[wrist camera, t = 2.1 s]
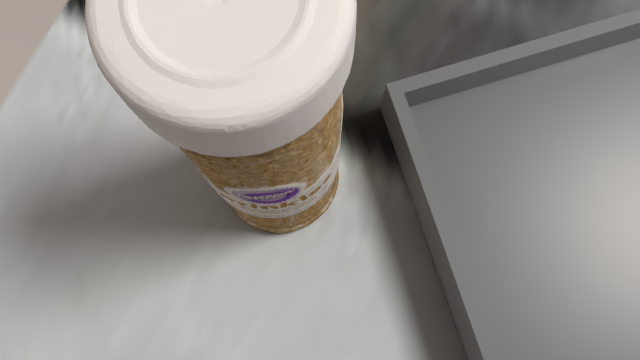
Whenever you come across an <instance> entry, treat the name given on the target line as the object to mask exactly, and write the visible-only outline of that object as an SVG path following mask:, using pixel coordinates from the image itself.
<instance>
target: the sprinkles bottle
mask: <svg viewBox="0 0 640 360" xmlns="http://www.w3.org/2000/svg"><path fill="white" fill-rule="evenodd" d="M356 7H357V5H356V0H86V3H85V22H86V29H87V35H88V39H89V44H90V47H91V50H92V52H93V55H94V57H95V60H96V62H97V64H98V67H99V68H100V70H101V72H102V73H103V75H104V77H105V78H106V80H107V81H108V82H109V83H110V85H111V86H112V87H113V88H114V90H115V91H116V92H117V93H118V95H119V96H120V97H121V98H122V99H123V101H124V102H125V103H126V104H127V106H128V107H129V108H130V109H131V110H132V111H133V112H134V113H135V114H136V115H137V116H138V117H139V118H140V119H141V120H142V121H143V122H144V123H145V124H146V125H147V126H148V127H149V128H150V129H152V130H153V131H154V132H155V133H157V134H158V135H160V136H161V137H163V138H164V139H166V140H167V141H169V142H171V143H173V144H175V145H177V146H179V147H180V149H181V150H182V151H183V152H184V153H185V154H186V155H187V156H188V157H189V159H190V160H191V161H192V162H193V163H194V165H195V166H196V168H197V170H198V171H199V172H200V173H201V175H202V176H203V177H204V178H205V179H206V180H207V182H208V183H209V184H210V185H211V186H212V187H213V188H214V189H215V190H216V192H217V193H218V194H219V195H220V196H221V197H222V198H223V199H224V200H225V201H227V202H228V204H229V205H230V206H231V207H232V208H233V210H234V212H235V213H236V214H237V215H238V217H239V218H241V219H242V220H243V221H244V222H246V223H247V224H249V225H252V226H254V227H256V228H257V229H261V230H265V231H270V232H275V233H284V232H293V231H296V230H298V229H301V228H303V227H305V226H308V225H310V224H311V223H313V222H314V221H315V220H316V219H318V218H319V217H320V216H321V215H322V214H323V213H324V212H325V211H326V210H327V209H328V207H329V206H330V204H331V202H332V200H333V198H334V196H335V194H336V190H337V186H338V179H339V175H338V163H339V153H340V141H341V130H342V118H343V96H342V89H343V87H344V85H345V82H346V80H347V78H348V75H349V73H350V69H351V65H352V60H353V54H354V44H355V32H356Z"/></svg>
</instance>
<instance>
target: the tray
mask: <svg viewBox="0 0 640 360" xmlns="http://www.w3.org/2000/svg"><path fill="white" fill-rule="evenodd" d="M380 109H381V112H382V115H383V118H384V120H385V123H386V126H387V129H388V132H389V135H390V138H391V141H392V143H393V146H394V149H395V152H396V155H397V158H398V161H399V163H400V166H401V169H402V172H403V175H404V178H405V181H406V184H407V186H408V189H409V192H410V195H411V198H412V201H413V204H414V207H415V209H416V212H417V215H418V218H419V221H420V224H421V227H422V230H423V232H424V235H425V238H426V241H427V244H428V247H429V250H430V253H431V255H432V258H433V261H434V264H435V267H436V270H437V273H438V275H439V278H440V281H441V284H442V287H443V290H444V293H445V296H446V298H447V301H448V304H449V307H450V310H451V313H452V316H453V319H454V321H455V324H456V327H457V330H458V333H459V336H460V339H461V342H462V344H463V347H464V350H465V353H466V356H467V359H468V360H640V9H637V10H634V11H630V12H627V13H624V14H620V15H617V16H614V17H610V18H607V19H604V20H600V21H597V22H593V23H590V24H587V25H583V26H580V27H577V28H573V29H570V30H567V31H563V32H560V33H556V34H553V35H550V36H546V37H543V38H540V39H536V40H533V41H530V42H526V43H523V44H519V45H516V46H513V47H509V48H506V49H503V50H499V51H496V52H493V53H489V54H486V55H482V56H479V57H476V58H472V59H469V60H466V61H462V62H459V63H456V64H452V65H449V66H445V67H442V68H439V69H435V70H432V71H429V72H425V73H422V74H419V75H415V76H412V77H408V78H405V79H402V80H398V81H395V82H392V83H388V84H386V87H385V91H384V95H383V98H382V102H381V106H380Z"/></svg>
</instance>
